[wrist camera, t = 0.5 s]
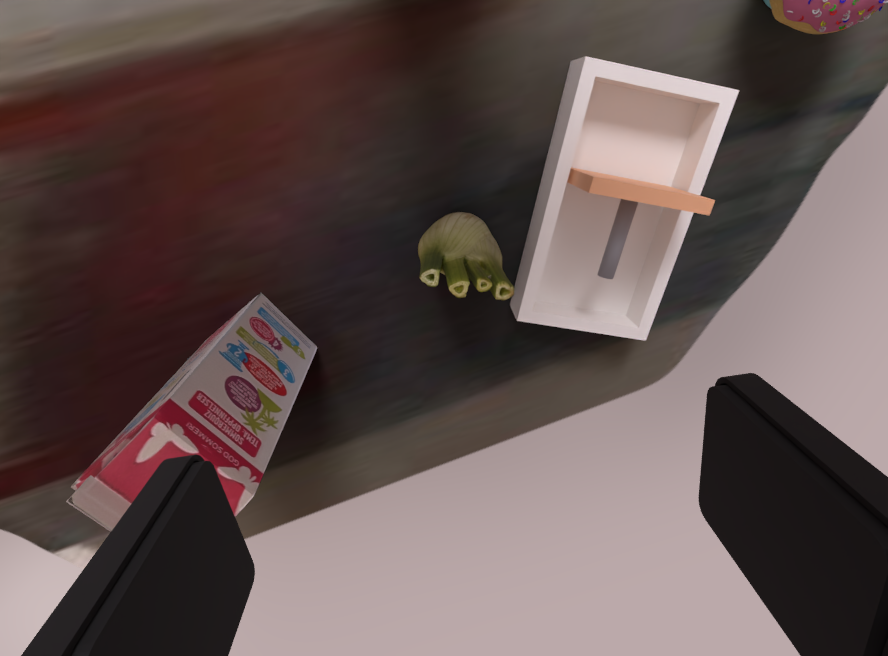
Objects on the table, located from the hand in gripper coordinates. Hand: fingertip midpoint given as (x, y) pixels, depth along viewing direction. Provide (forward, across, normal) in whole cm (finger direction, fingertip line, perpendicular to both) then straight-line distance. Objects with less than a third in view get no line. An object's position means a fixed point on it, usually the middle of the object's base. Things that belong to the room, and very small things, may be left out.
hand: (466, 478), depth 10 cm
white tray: (+33, -14, +3) cm, 36 cm away
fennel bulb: (+33, -2, +4) cm, 33 cm away
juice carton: (+33, +16, +10) cm, 38 cm away
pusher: (+32, -13, +4) cm, 35 cm away
